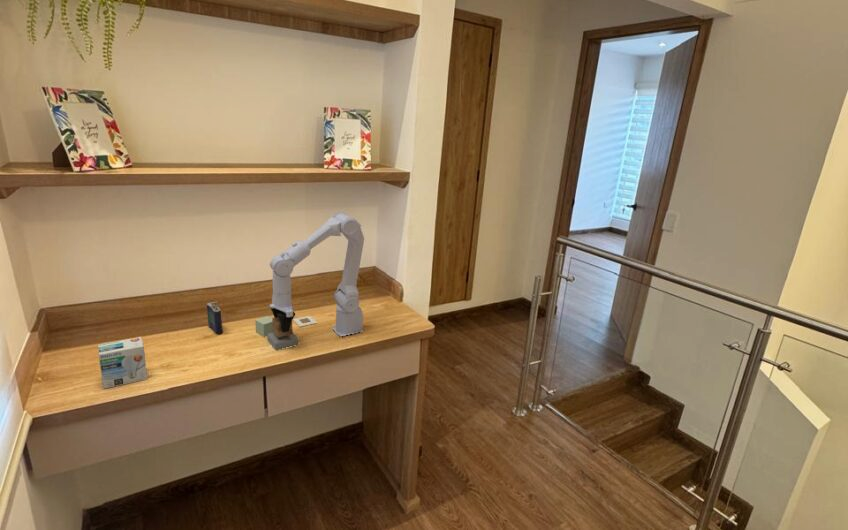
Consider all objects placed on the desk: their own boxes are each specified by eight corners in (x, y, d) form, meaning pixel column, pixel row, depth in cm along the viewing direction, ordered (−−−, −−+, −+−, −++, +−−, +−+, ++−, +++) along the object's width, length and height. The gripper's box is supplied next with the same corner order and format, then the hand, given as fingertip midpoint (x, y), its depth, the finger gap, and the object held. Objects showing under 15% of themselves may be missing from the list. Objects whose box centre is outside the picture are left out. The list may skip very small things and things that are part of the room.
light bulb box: (103, 389, 124) (97, 355, 120) (102, 377, 129) (96, 344, 125) (148, 379, 130) (144, 346, 127) (145, 368, 135) (141, 336, 132)
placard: (309, 316, 177) (309, 315, 177) (317, 323, 172) (317, 322, 172) (292, 319, 173) (292, 318, 173) (299, 327, 168) (299, 325, 168)
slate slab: (289, 336, 161) (289, 328, 160) (298, 346, 155) (298, 338, 154) (267, 341, 157) (267, 333, 156) (275, 351, 151) (275, 343, 150)
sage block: (268, 328, 165) (267, 315, 164) (276, 332, 162) (275, 320, 161) (255, 332, 161) (255, 319, 160) (263, 337, 159) (263, 324, 157)
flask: (207, 325, 163) (205, 298, 160) (215, 323, 165) (213, 296, 162) (216, 335, 157) (214, 307, 153) (225, 333, 159) (223, 305, 155)
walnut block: (286, 328, 158) (286, 315, 156) (292, 334, 154) (292, 320, 153) (272, 331, 155) (272, 318, 153) (277, 337, 151) (277, 324, 150)
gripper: (262, 285, 153) (263, 322, 157) (277, 301, 142) (278, 339, 146) (283, 282, 157) (283, 318, 161) (299, 297, 146) (299, 334, 150)
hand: (282, 328), depth 154 cm, fingers closed on walnut block, 5 cm apart
